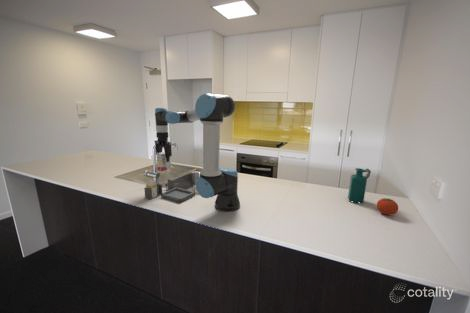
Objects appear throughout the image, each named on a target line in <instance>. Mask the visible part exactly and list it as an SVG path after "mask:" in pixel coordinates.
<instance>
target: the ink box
mask: <svg viewBox="0 0 470 313" xmlns="http://www.w3.org/2000/svg"><path fill="white" fill-rule="evenodd" d="M155 155H156V167H157V168H156V169H157V170H156V171H160V172H165V171H168V170H171V169H172V160H171V158H172V156H170V157H169V166H168V167H165V157H166V155H165V151H162V152H161V153H157V154H156V153H155Z"/></svg>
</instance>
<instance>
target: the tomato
mask: <svg viewBox="0 0 470 313" xmlns="http://www.w3.org/2000/svg"><path fill="white" fill-rule="evenodd" d="M398 205H399V204H398V203H397V202H396V201H395V200H394V199H392V198H385V197H384V198H380V199H379V200H378V201H377V202H376V209H377V210H378V211H379V212H380V213H381V214H383V215H386V216H393V215H395V214H396V213H398V211H399V206H398Z"/></svg>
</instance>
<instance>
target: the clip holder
mask: <svg viewBox="0 0 470 313" xmlns="http://www.w3.org/2000/svg"><path fill="white" fill-rule="evenodd" d="M167 188H168V190H171V189H173V188H175V180H174V179H171V178H168V179H167ZM162 193H163V185H162V184H160V183H157V180H154V179H148V180H146V181H145V187H144V198H145V199H147V200H153V199H156V198H158V197H159V196H161V194H162Z"/></svg>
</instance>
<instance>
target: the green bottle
mask: <svg viewBox="0 0 470 313" xmlns="http://www.w3.org/2000/svg"><path fill="white" fill-rule="evenodd" d="M354 170H355V171H356V172H355V174H351V175H350V178H349V187H348V193H347V200H348V199H349V200H350V201H353V202H360V203H363V204H364V202H365V196H366V189H367V188H366V187H367V182H368V179H369V177H370V175H371V173H372V171H371V170H370V169H369V168H365V169H364V168H360V167H359V168H358V167H357V168H355V169H354ZM363 173H366V174H365V176H364V174H363ZM349 200H348V201H349ZM350 201H349V202H350Z"/></svg>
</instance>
